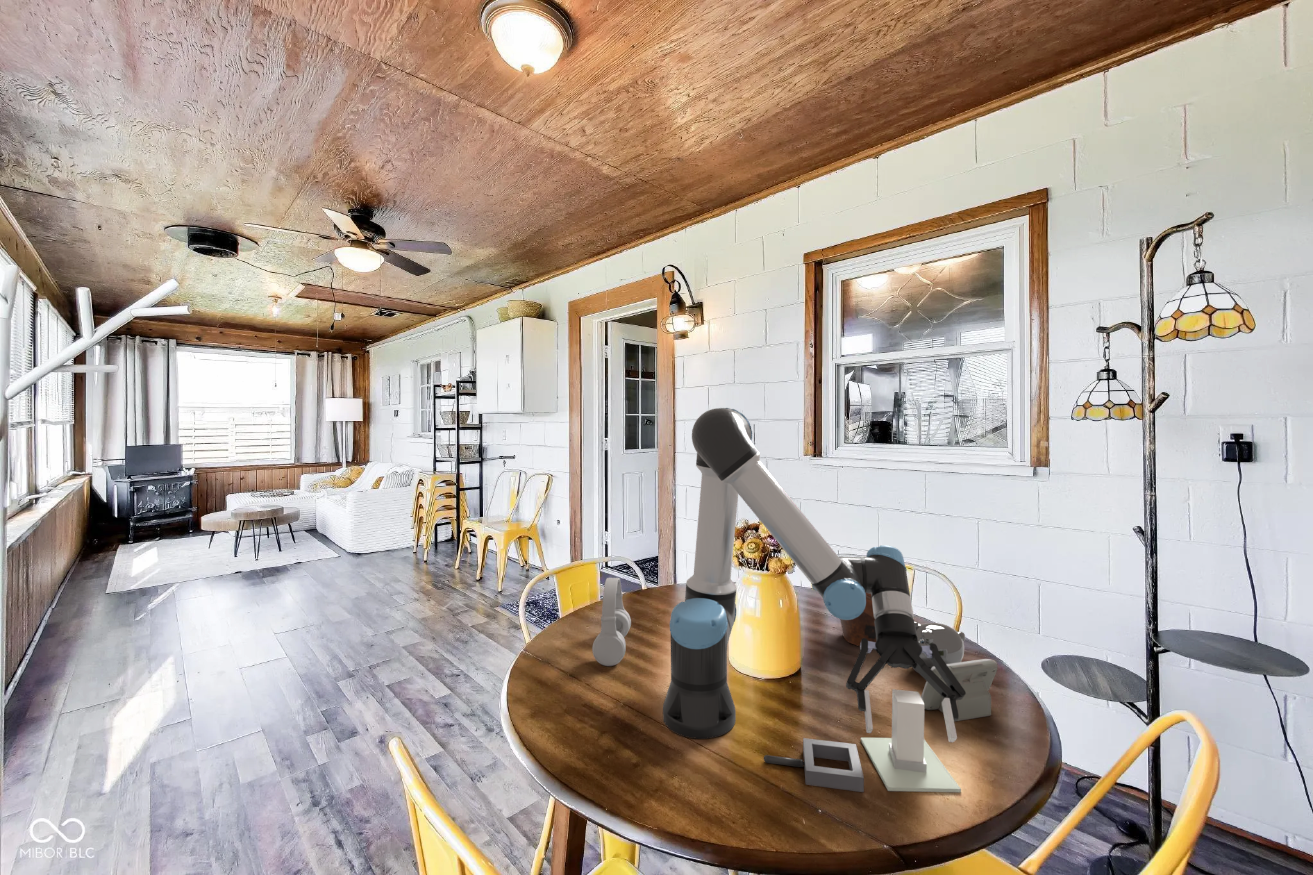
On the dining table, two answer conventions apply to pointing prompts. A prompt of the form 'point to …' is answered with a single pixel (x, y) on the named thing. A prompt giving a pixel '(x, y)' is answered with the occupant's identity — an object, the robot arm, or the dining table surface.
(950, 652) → the piggy bank
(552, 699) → the dining table surface
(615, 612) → the headphones
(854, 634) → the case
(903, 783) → the mat
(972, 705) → the digital clock
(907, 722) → the plug
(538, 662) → the dining table surface
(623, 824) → the dining table surface
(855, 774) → the socket block
